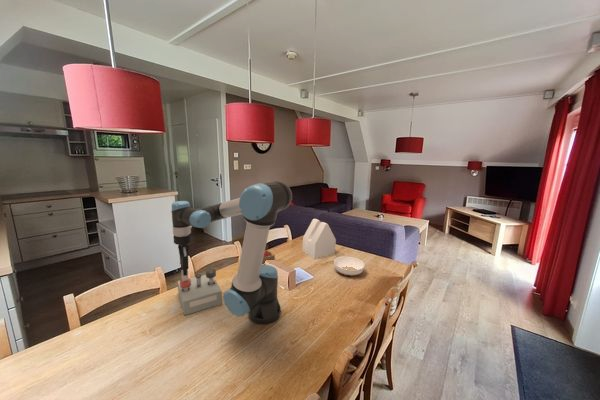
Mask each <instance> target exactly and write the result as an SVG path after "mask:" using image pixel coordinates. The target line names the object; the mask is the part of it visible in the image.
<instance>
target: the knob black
mask: <svg viewBox="0 0 600 400" xmlns="http://www.w3.org/2000/svg"><path fill="white" fill-rule="evenodd" d="M205 275H206V277H207V278H209V285H211V284H214V281H213V277H214V278H215V277H216V276H217V271H216V269H214V268H209V269H207V270H206V271H205Z"/></svg>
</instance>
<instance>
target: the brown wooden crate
mask: <svg viewBox="0 0 600 400" xmlns="http://www.w3.org/2000/svg"><path fill="white" fill-rule="evenodd" d="M265 252H266V253H268V255H269V256H265V255H264V257H263V262H262V264H264V263H265V261H266V260H275V258H276V257H275V256H276V255H275V254H274V253H272V252H271V250H269V249H267V250H266V249H265Z"/></svg>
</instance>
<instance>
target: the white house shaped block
mask: <svg viewBox="0 0 600 400" xmlns="http://www.w3.org/2000/svg"><path fill="white" fill-rule="evenodd" d="M336 245H337V239H336V237H335V235H334V233H333V232H332V229H331V228H330V226H329V224H328V223H327V222H324V221H321V220H319V219H318V218H313V219H312V220H311V222H310V224H309V226H308V227H307V229H306V231H305V233H304V235H303V236H302V252H303V253H304V252H305V253H304V254H306V255H307V254H308V255H307V256H309V257H310V256H311V257H310V258H312V259H313V258H314V260H317V259H320V258H319V257H321V258H324V257H323V256H325V257H327V256H326V255H329V256H331V255H330V254H333V255H335V254H336ZM334 253H335V254H334ZM316 258H317V259H316Z"/></svg>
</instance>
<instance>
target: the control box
mask: <svg viewBox="0 0 600 400" xmlns="http://www.w3.org/2000/svg"><path fill="white" fill-rule="evenodd" d="M188 278H189V277H188ZM189 279H191V286H190V287H188V291H183V288H181V287H180V281H181V280H177V291H178V292H177V293H178V297H179V301H180V305H181V308H182V312H183V315H184V316H187V315H190V314H193V313H196V312H199V311H200V312H201V311H203V310H206V309H209V308H213V307H216V306H220V305H222V304H223V294H222V293H223V292H222V289H221V288H220V286H219V285H220V284H219V283H218V282H217V280H216V278H215V277H213V281H214V284H211V285H209V278H207V277H206V274H203V275H202V274H201V286H200V287H197V281H196V276H195V277H194V276H193V277H190V278H189Z"/></svg>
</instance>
